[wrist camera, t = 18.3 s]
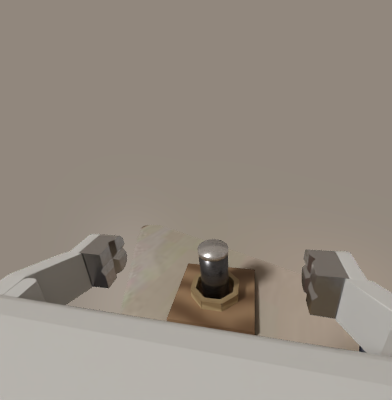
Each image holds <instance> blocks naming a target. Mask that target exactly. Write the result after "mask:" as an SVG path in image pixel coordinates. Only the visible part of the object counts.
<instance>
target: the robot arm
mask: <svg viewBox="0 0 392 400" xmlns="http://www.w3.org/2000/svg"><path fill="white" fill-rule="evenodd" d="M123 245H124V241H123V238H122V237H121V236H115V235H105V234H90V235H89V236H88V237H87V238H85V239H84V240H83V241H82V242H81V243H79V244H78V245H77V246H76V247H75V248H73V249H72V250H71V251H70V252H65V253H62V254H60V255H57V256H55V257H52V258H49V259H47V260H44V261H42V262H39V263H37V264H34V265H31V266H29V267H26V268H24V269H21V270H19V271H16V272H14V273H11V274H9V275H7V276H6V277H5V278H3V279H2V280H0V400H392V293H391V292H389V291H388V290H386V289H385V288H383V287H381V286H380V285H378V284H377V283H375V282H373V281H368V280H367V278H366V277H365V275H364V274H363V272H362V270H361V269H360V267H359V266H358V264H357V262H356V261H355V259H354V258H353V256H352V255H351V253H350V252H347V251H346V252H345V251H322V250H305V254H304V260H305V264H306V265H305V266H303V268H302V286H303V290H304V292H305V293H306V294H307V297H306V302H307V306H308V309H309V313H310V315H315V316H322V317H328V318H334V319H336V321H337V322H338V323H339V324H340V325H341V326H342V327H343V328H344V329H345V330H346V331H347V333H348V334H349V335H350V336H351V337H352V338H353V339H354V340H355V341H356V342H357V343H358V344H359V345H360V346H361V347H362V349H363V350H364V351H365V352H366V353H364V352H358V351H352V350H345V349H339V348H333V347H326V346H320V345H314V344H307V343H301V342H294V341H288V340H282V339H275V338H269V337H263V336H257V335H250V334H244V333H238V332H232V331H225V330H219V329H213V328H207V327H200V326H194V325H188V324H181V323H175V322H169V321H162V320H156V319H150V318H143V317H137V316H131V315H124V314H117V313H112V312H105V311H98V310H92V309H86V308H80V307H74V306H67V305H66V304H68V303H69V302H71V301H72V300H74V299H75V298H77V297H78V296H80V295H81V294H83V293H84V292H86V291H88V290H89V289H90V288H92V287H102V288H109V287H110V286H111V285H112V283H113V282H114V281H115V279H116V278H117V275H116V274H117V273H119V272H121V271H122V270H123V269H124V267H125V265H126V262H127V254H126V251H125V250H124V249H123V248H122V247H123Z"/></svg>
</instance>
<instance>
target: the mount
mask: <svg viewBox="0 0 392 400" xmlns="http://www.w3.org/2000/svg"><path fill="white" fill-rule="evenodd" d="M228 274H229V295H227V296H225V297H224V298H222V299H212V298H205V297H204V296H203V292H202V282H201V272H200V265H198V264H188V266H187V269H186V271H185V274H184V276H183V279H182V281H181V284H180V286H179V289H178V291H177V294H176V297H175V299H174V302H173V304H172V307H171V309H170V312H169V314H168V317H167V321H169V322H175V323H181V324H188V325H194V326H200V327H207V328H213V329H219V330H225V331H232V332H238V333H244V334H250V335H255V270H251V269H241V268H230V267H228Z"/></svg>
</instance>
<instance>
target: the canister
mask: <svg viewBox="0 0 392 400" xmlns="http://www.w3.org/2000/svg"><path fill="white" fill-rule="evenodd" d="M198 255H199V262H200V272H201V282H202V292H203V296H204V297H205V298H212V299H222V298H224V297H225V296H227V295H229V274H228V246H227V244H226V243H224V242H223V241H221V240H216V239H214V240H213V239H212V240H206V241H204V242H202V243H201V244H200V245H199V246H198Z"/></svg>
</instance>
